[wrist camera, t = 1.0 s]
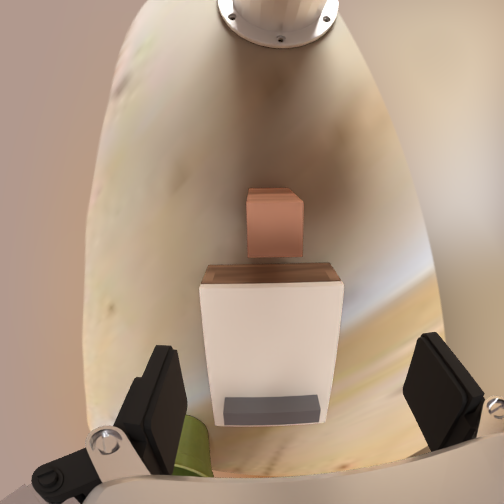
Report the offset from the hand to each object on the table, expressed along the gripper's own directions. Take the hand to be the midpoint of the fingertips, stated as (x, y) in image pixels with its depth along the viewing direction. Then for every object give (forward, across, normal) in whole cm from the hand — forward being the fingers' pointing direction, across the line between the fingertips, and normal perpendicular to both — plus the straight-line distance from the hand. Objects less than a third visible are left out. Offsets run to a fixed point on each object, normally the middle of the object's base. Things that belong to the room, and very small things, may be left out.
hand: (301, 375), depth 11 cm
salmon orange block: (+23, 0, -2) cm, 23 cm away
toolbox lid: (+17, 0, +13) cm, 22 cm away
